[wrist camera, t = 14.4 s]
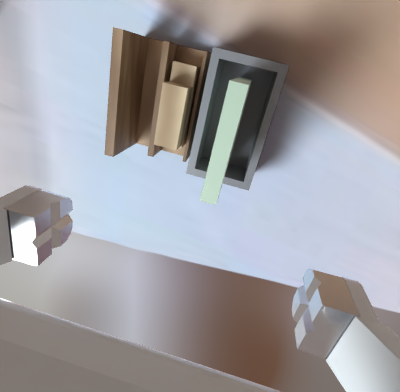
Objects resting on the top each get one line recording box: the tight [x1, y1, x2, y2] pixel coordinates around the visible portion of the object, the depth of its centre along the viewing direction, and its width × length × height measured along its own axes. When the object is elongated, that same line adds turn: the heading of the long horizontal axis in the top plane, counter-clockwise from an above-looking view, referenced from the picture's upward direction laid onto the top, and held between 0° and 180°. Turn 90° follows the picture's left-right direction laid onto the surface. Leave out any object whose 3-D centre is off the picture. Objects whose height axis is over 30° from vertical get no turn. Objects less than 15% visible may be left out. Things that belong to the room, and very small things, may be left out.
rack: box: [105, 27, 211, 162], centre depth 38 cm, size 10×15×10 cm, turn 168°
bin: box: [187, 47, 290, 190], centre depth 38 cm, size 9×16×7 cm, turn 168°
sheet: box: [200, 77, 252, 205], centre depth 32 cm, size 2×11×18 cm, turn 168°
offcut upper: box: [154, 81, 193, 150], centre depth 37 cm, size 3×8×3 cm, turn 167°
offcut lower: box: [170, 61, 201, 148], centre depth 39 cm, size 3×11×3 cm, turn 168°
